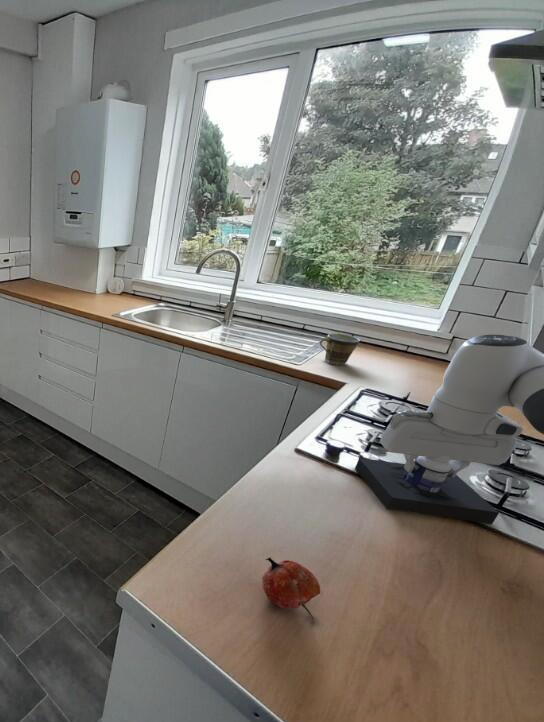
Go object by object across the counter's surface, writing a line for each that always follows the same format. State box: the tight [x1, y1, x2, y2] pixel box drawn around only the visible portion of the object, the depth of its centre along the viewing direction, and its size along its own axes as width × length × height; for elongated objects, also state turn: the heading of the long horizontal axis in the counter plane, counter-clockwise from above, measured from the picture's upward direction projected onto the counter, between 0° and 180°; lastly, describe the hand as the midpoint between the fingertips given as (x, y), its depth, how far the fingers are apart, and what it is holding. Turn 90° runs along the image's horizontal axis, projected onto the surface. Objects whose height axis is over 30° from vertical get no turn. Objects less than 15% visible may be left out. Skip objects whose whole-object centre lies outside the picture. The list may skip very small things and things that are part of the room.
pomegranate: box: [261, 556, 321, 620], centre depth 63 cm, size 7×7×10 cm
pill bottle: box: [405, 456, 451, 493], centre depth 85 cm, size 5×5×10 cm
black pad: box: [354, 458, 500, 525], centre depth 87 cm, size 18×14×3 cm
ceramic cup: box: [319, 333, 361, 366], centre depth 155 cm, size 13×10×10 cm
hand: (428, 473), depth 86 cm, fingers closed on pill bottle, 5 cm apart
